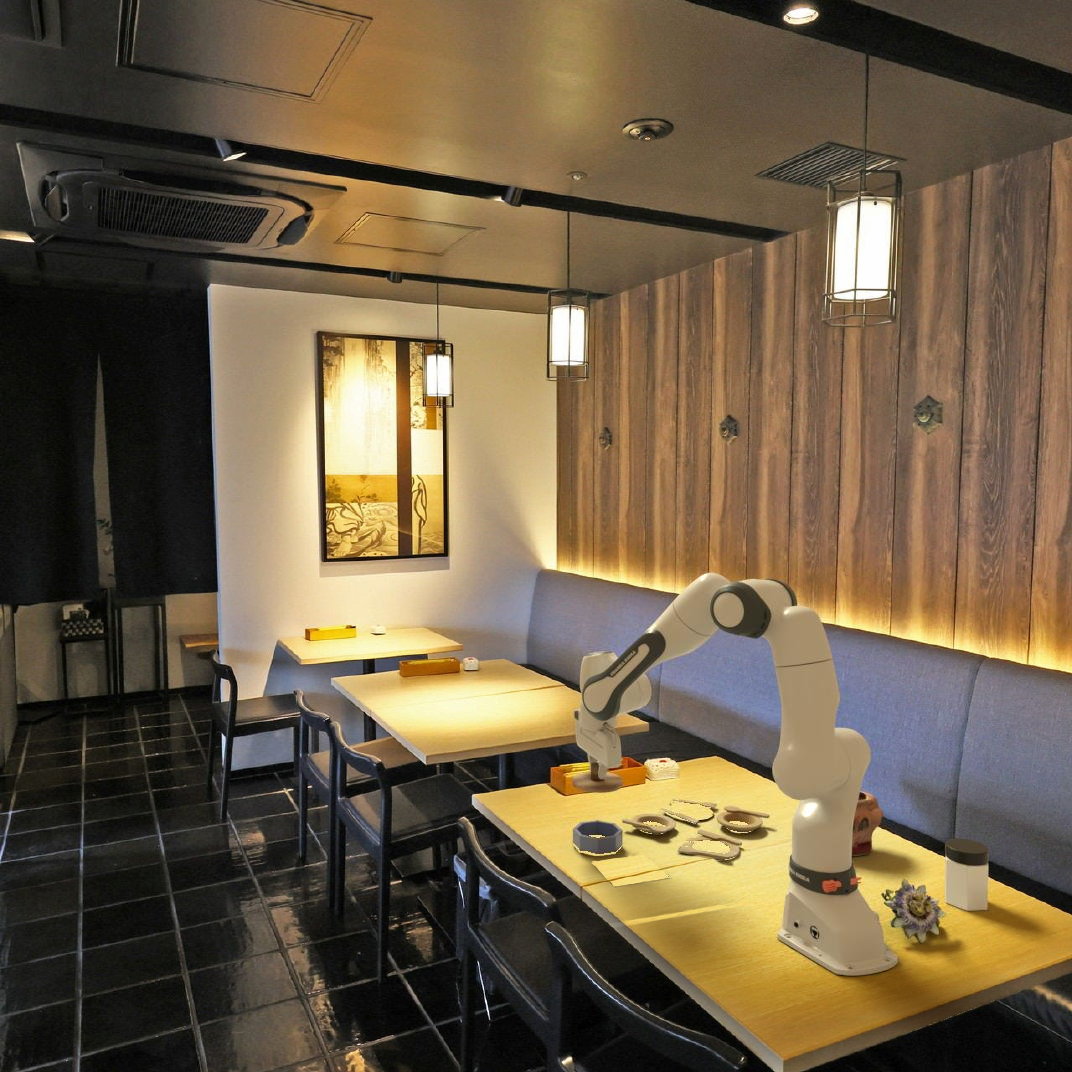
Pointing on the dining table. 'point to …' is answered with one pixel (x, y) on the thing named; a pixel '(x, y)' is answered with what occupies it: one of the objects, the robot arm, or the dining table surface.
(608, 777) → the lid
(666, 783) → the dining table surface
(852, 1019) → the dining table surface
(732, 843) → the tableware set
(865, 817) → the decorative planter
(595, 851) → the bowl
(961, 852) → the jar
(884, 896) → the passion flower
